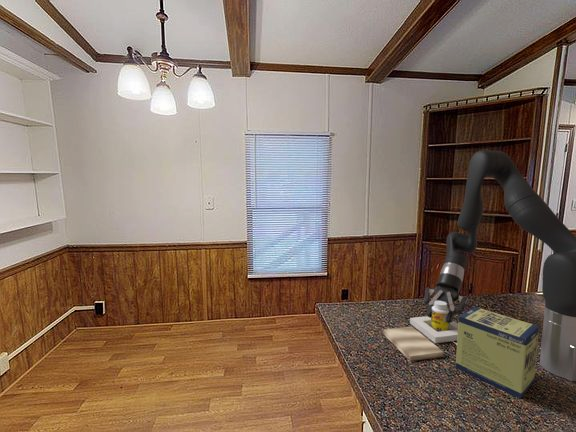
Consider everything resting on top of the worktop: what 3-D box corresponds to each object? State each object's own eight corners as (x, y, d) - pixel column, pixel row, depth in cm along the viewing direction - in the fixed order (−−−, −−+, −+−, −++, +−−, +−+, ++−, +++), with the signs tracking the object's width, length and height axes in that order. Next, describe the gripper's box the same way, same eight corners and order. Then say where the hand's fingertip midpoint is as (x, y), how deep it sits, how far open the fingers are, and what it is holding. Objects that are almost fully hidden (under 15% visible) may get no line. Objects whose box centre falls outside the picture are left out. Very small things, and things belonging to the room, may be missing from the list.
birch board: (443, 356, 88) (443, 351, 88) (410, 360, 86) (410, 356, 86) (411, 330, 104) (411, 326, 103) (383, 333, 102) (383, 329, 102)
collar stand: (472, 338, 98) (472, 332, 98) (435, 343, 95) (435, 337, 95) (443, 319, 111) (443, 314, 111) (409, 323, 109) (410, 317, 109)
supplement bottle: (427, 327, 105) (428, 300, 104) (439, 325, 107) (440, 298, 106) (439, 335, 100) (440, 306, 99) (452, 332, 102) (453, 304, 100)
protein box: (522, 400, 70) (527, 339, 68) (454, 367, 83) (457, 315, 81) (535, 382, 76) (540, 325, 75) (470, 354, 89) (473, 305, 87)
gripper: (428, 268, 111) (414, 308, 104) (471, 276, 101) (459, 321, 94) (432, 278, 116) (419, 317, 109) (474, 287, 106) (463, 331, 99)
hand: (438, 319), depth 102 cm, fingers closed on supplement bottle, 5 cm apart
